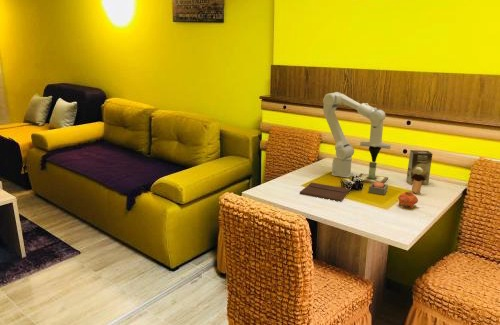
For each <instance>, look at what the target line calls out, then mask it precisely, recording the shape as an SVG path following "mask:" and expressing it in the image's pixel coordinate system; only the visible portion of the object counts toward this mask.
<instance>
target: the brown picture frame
mask: <svg viewBox="0 0 500 325" xmlns="http://www.w3.org/2000/svg"><path fill="white" fill-rule="evenodd" d="M357 177H360V178H362V179H364V182H363V183H365V184H370V185H371V184H372V183H375V182H381V183H383V184H385V183H386V182H387V181H388V180H389V177H388V176H387V177H386V176H383V175H382V176H381V175H376V174H375V179H370V178H368V177H369V173H367V174H366V173H362V172H361V173H360V174H359V175H358V176H357Z"/></svg>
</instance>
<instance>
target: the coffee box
mask: <svg viewBox="0 0 500 325" xmlns="http://www.w3.org/2000/svg"><path fill="white" fill-rule="evenodd" d="M432 159H433V153H432V152H431V151H429V150H414V149H413V150H412V149H410V150H409V158H408V165H407V173H406V179H405V181H406V182H407V183H408V184H409V185H413V181H414V179H412V181H409V180H410V178H411V176H412V175H414V174H416V170H415V169H416V168H417V167H421V168H422V170H423V172H422V173H421V174H420V175H422V176H424V177H425V179H426V182H427V183H426V184H425V183H424V181H423V180H421V186H424V185H425V186H428V185H429V182H430V181H429V180H430V175H431V168H432Z"/></svg>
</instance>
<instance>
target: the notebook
mask: <svg viewBox="0 0 500 325" xmlns="http://www.w3.org/2000/svg"><path fill="white" fill-rule="evenodd" d="M350 191H351V192H352V189H351V188H347V189H346V188H345V187H339V186H333V185H329V184H324V183H317V182H310V183H309V184H308V185H306V186H305V187H304V188H303V189H301V190H300V191H299V195H302V196H307V197H311V198H317V197H318V198H319V199H323V198H324V200H328V199H330V201H333V200H335V201H334V202H338V201H340V202H339V203H341V202H342V201H343V200H344V199H345V198H346V197H347V196H348V195H349V194H350V193H351V192H350ZM349 192H350V193H349ZM348 193H349V194H348ZM347 194H348V195H347ZM346 195H347V196H346ZM345 196H346V197H345ZM344 197H345V198H344Z"/></svg>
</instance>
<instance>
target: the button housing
mask: <svg viewBox="0 0 500 325" xmlns="http://www.w3.org/2000/svg"><path fill="white" fill-rule="evenodd" d="M388 186H389V185H388V184H385V183H384V186H383V188H378V187H374V183H372V184H370V185H369V186H368V194H374V195H380V196H385V195H386V193H387V192H388Z"/></svg>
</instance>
